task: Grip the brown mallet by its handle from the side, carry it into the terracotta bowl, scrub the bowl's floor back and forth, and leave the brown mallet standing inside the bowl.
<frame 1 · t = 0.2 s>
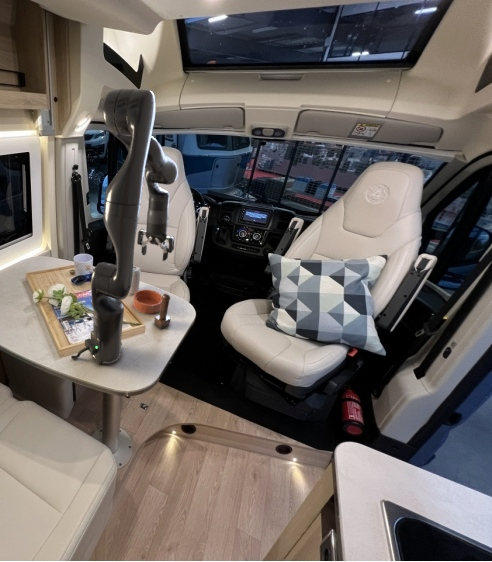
hand: (154, 257, 114), 22 cm above the table, tool pointing down, fingers open, 8 cm apart
brown mallet: (161, 324, 113), on the table
bowl: (147, 306, 124), on the table
beverage can: (131, 291, 133), on the table
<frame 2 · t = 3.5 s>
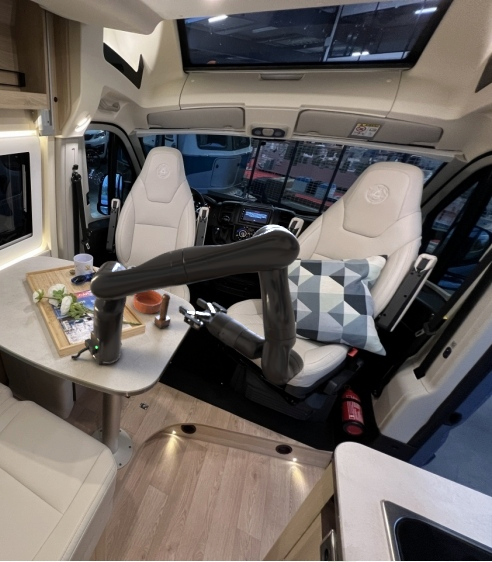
hand: (188, 304, 97), 16 cm above the table, tool horizontal, fingers open, 8 cm apart
nothing on the table moved.
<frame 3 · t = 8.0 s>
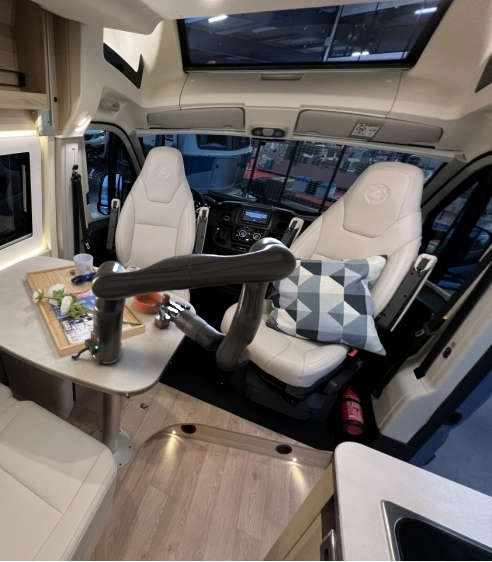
hand: (159, 301, 110), 9 cm above the table, tool horizontal, fingers closed on brown mallet, 2 cm apart
brown mallet: (161, 324, 113), on the table, touching gripper
everything else where it was.
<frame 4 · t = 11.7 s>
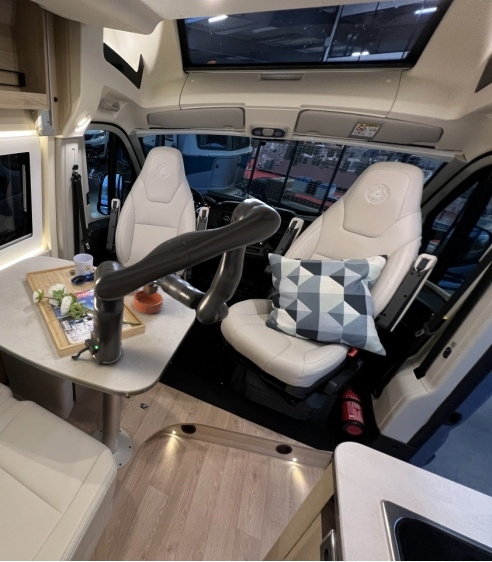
hand: (147, 269, 117), 17 cm above the table, tool horizontal, fingers closed on brown mallet, 2 cm apart
brown mallet: (150, 292, 120), point 7 cm above the table, touching gripper
everything else where it was.
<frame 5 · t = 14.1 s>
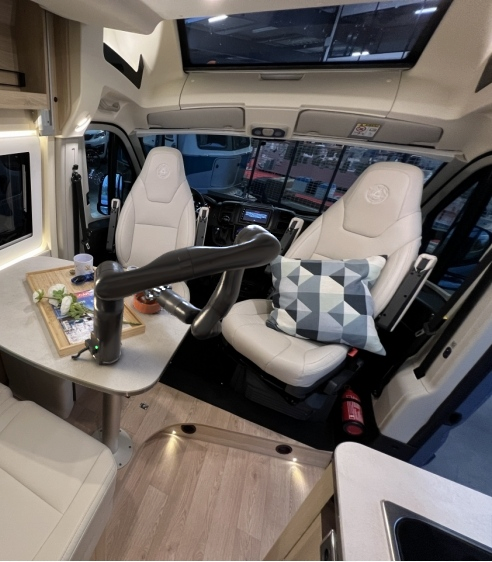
hand: (145, 282, 121), 10 cm above the table, tool horizontal, fingers closed on brown mallet, 2 cm apart
brown mallet: (147, 304, 123), point 1 cm above the table, touching gripper
everything else where it was.
when the fingers open (10 cm above the table, at t = 15.6 s): brown mallet stays where it is, resting on bowl.
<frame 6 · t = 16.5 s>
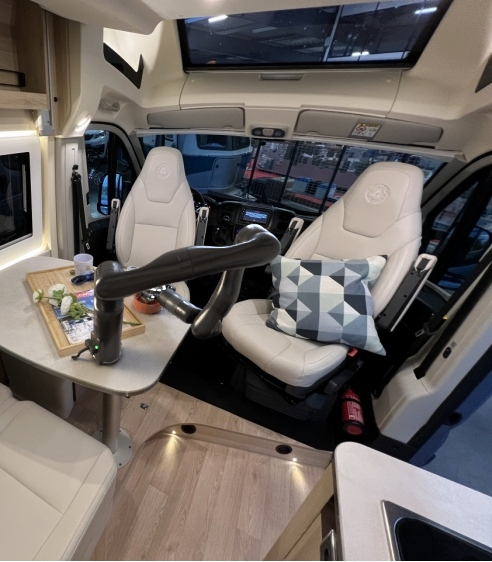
hand: (146, 283, 120), 10 cm above the table, tool horizontal, fingers open, 8 cm apart
brown mallet: (147, 305, 123), point 1 cm above the table, touching bowl
everything else where it was.
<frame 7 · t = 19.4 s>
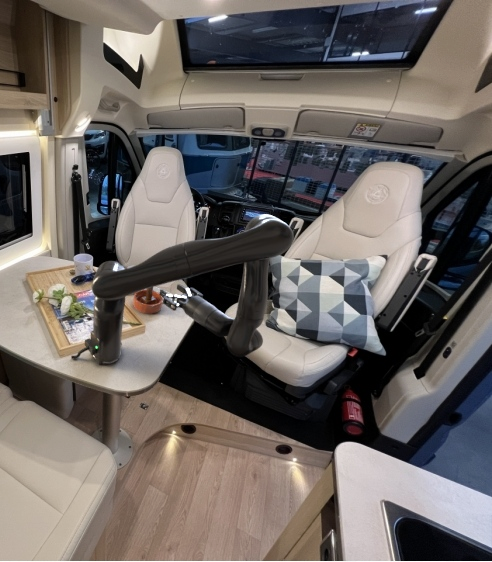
hand: (169, 288, 107), 15 cm above the table, tool horizontal, fingers open, 8 cm apart
nothing on the table moved.
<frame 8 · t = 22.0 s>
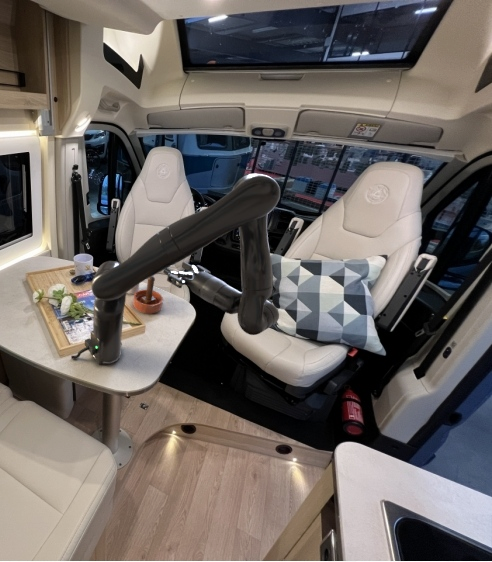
hand: (173, 266, 99), 26 cm above the table, tool horizontal, fingers open, 8 cm apart
nothing on the table moved.
at the end: brown mallet 0.3 cm off-centre in the bowl, point 0.6 cm above the bowl's base; brown mallet tilted 0°; beverage can moved 0.2 cm from its start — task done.
